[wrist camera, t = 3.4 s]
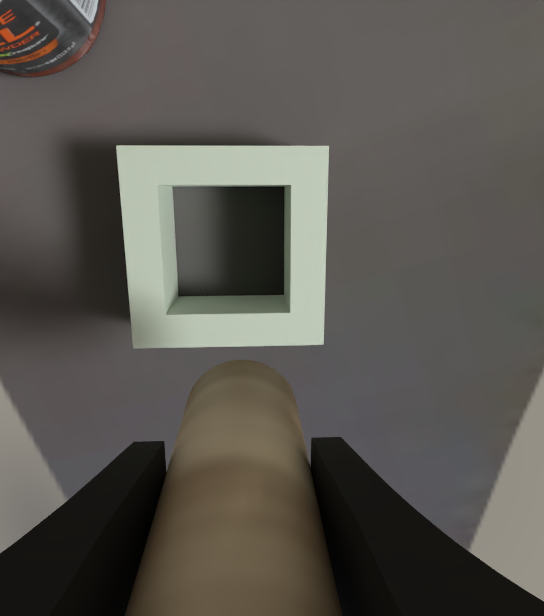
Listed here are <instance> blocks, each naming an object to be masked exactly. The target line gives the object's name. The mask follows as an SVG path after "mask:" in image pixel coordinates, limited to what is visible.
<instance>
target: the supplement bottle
mask: <svg viewBox="0 0 544 616" xmlns="http://www.w3.org/2000/svg"><path fill="white" fill-rule="evenodd" d="M105 4H106V0H0V70H1V71H3V72H7V73H11V74H15V75H20V76H31V77H39V76H45V75H50V74H54V73H57V72H60V71H62V70H64V69H66V68H68V67H70V66H71V65H73V64H74V63H76V62H77V61H78V60H79V59H80V58H81V57H82V56H83V55H84V54H86V53H88V51H89V50H90V48H91V46H92V45H93V43H94V41H95V40H96V38H97V36H98V33H99V30H100V27H101V24H102V21H103V17H104V13H105Z"/></svg>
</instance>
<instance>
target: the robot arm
mask: <svg viewBox="0 0 544 616" xmlns="http://www.w3.org/2000/svg"><path fill="white" fill-rule="evenodd" d="M311 473H312V478H313V482H314V487H315V492H316V496H317V501H318V505H319V510H320V514H321V519H322V524H323V528H324V533H325V537H326V542H327V547H328V551H329V556H330V560H331V565H332V570H333V574H334V579H335V583H336V588H337V593H338V597H339V602H340V606H341V611H342V616H544V602H543V601H542V600H540V599H539V598H537V597H535V596H534V595H532V594H531V593H529V592H527V591H526V590H524V589H522V588H521V587H519V586H518V585H516V584H515V583H513V582H512V581H510V580H509V579H507V578H506V577H504V576H503V575H501V574H500V573H498V572H496V571H495V570H494V569H492V568H491V567H490V566H488V565H487V564H485V563H484V562H483V561H481V560H480V559H478V558H477V557H476V556H474V555H473V554H471V553H470V552H469V551H467V550H466V549H464V548H463V547H462V546H460V545H459V544H458V543H456V542H455V541H454V540H452V539H451V538H450V537H448V536H447V535H446V534H445V533H443V532H442V531H441V530H440V529H438V528H437V527H436V526H435V525H434V524H432V523H431V522H430V521H429V520H428V519H426V518H425V517H424V516H423V515H422V514H420V513H419V512H418V511H417V510H415V509H414V508H413V507H412V506H411V505H410V504H409V503H408V502H406V501H405V500H404V499H403V498H402V497H401V496H400V495H399V494H398V493H396V492H395V491H394V490H393V489H392V488H391V487H390V486H389V485H388V484H387V483H386V482H385V481H384V480H383V479H382V478H381V477H380V476H379V475H378V474H377V473H376V472H375V471H374V470H373V469H372V468H371V467H370V466H369V465H368V464H367V463H366V462H365V461H364V460H363V459H362V458H361V457H360V456H359V455H358V454H357V453H356V452H355V451H354V450H353V449H352V448H351V447H350V446H349V445H348V444H347V443H346V442H345V441H344V440H343V439H342V438H341V437H323V438H312V440H311ZM165 476H166V461H165V446H164V441H151V442H134V443H132V444H131V445H130V446H129V447H128V448H126V449H125V450H124V451H123V452H122V453H121V454H120V455H119V456H117V457H116V458H115V459H114V460H113V461H112V462H111V463H110V464H109V465H108V466H107V467H105V468H104V469H103V470H102V471H101V472H100V473H99V474H98V475H97V476H95V477H94V478H93V479H92V480H91V481H90V482H89V483H87V484H86V485H85V486H84V487H83V488H82V489H81V490H79V491H78V492H77V493H76V494H75V495H74V496H73V497H71V498H70V499H69V500H68V501H67V502H66V503H64V504H63V505H62V506H61V507H59V508H58V509H57V510H56V511H54V512H53V513H52V514H51V515H49V516H48V517H47V518H46V519H44V520H43V521H42V522H40V523H39V524H38V525H37V526H35V527H34V528H33V529H32V530H31V531H29V532H28V533H27V534H25V535H24V536H23V537H22V538H20V539H19V540H18V541H17V542H15V543H14V544H13V545H11V546H10V547H9V548H7V549H6V550H4V551H3V552H2V553H0V616H125V613H126V610H127V606H128V603H129V599H130V596H131V593H132V589H133V586H134V582H135V579H136V576H137V572H138V569H139V565H140V562H141V558H142V555H143V552H144V548H145V545H146V541H147V538H148V535H149V531H150V528H151V524H152V521H153V517H154V514H155V511H156V507H157V504H158V500H159V497H160V494H161V490H162V487H163V483H164V480H165Z"/></svg>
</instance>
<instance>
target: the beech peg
mask: <svg viewBox="0 0 544 616" xmlns="http://www.w3.org/2000/svg"><path fill="white" fill-rule="evenodd" d="M125 616H342V611H341V606H340V602H339V597H338V593H337V588H336V583H335V579H334V574H333V570H332V565H331V560H330V556H329V551H328V547H327V542H326V537H325V533H324V528H323V524H322V519H321V514H320V510H319V505H318V501H317V496H316V492H315V487H314V482H313V478H312V473H311V469H310V464H309V459H308V455H307V450H306V446H305V441H304V436H303V432H302V427H301V423H300V418H299V413H298V409H297V404H296V400H295V396H294V393H293V390H292V389H291V387H290V385H289V383H288V382H287V381H286V379H285V378H284V377H283V376H282V375H281V374H280V373H278V372H277V371H276V370H274V369H273V368H271V367H269V366H267V365H265V364H262V363H259V362H256V361H250V360H235V361H229V362H225V363H222V364H219V365H217V366H215V367H213V368H211V369H210V370H208V371H207V372H206V373H205V374H203V375H202V376H201V377H200V378H199V379H198V381H197V382H196V383H195V385H194V386H193V388H192V390H191V392H190V395H189V398H188V401H187V405H186V408H185V412H184V415H183V418H182V422H181V425H180V429H179V432H178V435H177V439H176V442H175V446H174V449H173V453H172V456H171V459H170V463H169V466H168V470H167V473H166V476H165V480H164V483H163V487H162V490H161V494H160V497H159V500H158V504H157V507H156V511H155V514H154V517H153V521H152V524H151V528H150V531H149V535H148V538H147V541H146V545H145V548H144V552H143V555H142V558H141V562H140V565H139V569H138V572H137V576H136V579H135V582H134V586H133V589H132V593H131V596H130V599H129V603H128V606H127V610H126V613H125Z"/></svg>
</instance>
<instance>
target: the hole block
mask: <svg viewBox="0 0 544 616" xmlns="http://www.w3.org/2000/svg"><path fill="white" fill-rule="evenodd" d="M116 150H117V162H118V174H119V186H120V197H121V209H122V221H123V233H124V245H125V257H126V268H127V280H128V292H129V304H130V316H131V328H132V340H133V348H179V347H232V346H285V345H323V342H324V306H325V270H326V233H327V197H328V161H329V146H129V145H116ZM172 187H284V295H244V296H178V278H177V260H176V242H175V224H174V207H173V189H172Z"/></svg>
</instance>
